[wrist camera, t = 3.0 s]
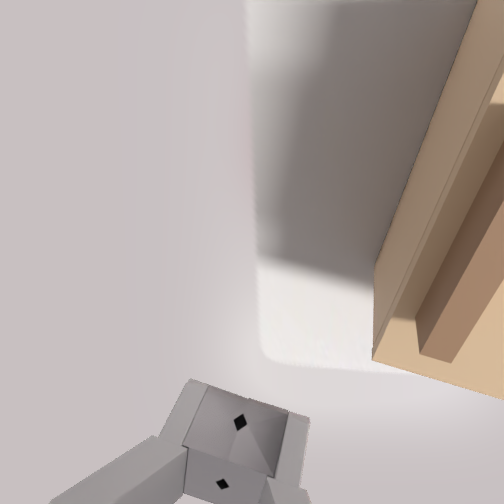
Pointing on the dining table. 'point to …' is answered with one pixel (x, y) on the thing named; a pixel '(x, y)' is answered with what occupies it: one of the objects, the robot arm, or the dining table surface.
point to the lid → (458, 271)
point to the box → (439, 150)
